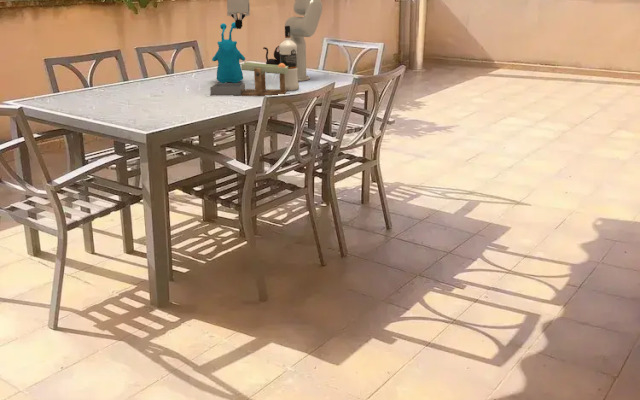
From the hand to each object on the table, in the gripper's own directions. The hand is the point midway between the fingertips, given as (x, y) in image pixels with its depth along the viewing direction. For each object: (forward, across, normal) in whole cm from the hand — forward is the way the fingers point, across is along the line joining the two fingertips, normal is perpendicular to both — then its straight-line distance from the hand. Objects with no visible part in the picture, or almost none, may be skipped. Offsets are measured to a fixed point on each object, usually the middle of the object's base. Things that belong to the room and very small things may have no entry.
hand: (239, 28), depth 326 cm
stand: (+29, -14, +11) cm, 34 cm away
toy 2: (+28, -8, -49) cm, 57 cm away
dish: (+29, +3, +12) cm, 31 cm away
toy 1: (+29, +11, -20) cm, 37 cm away
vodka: (+29, -24, 0) cm, 37 cm away
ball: (+16, -22, +11) cm, 30 cm away
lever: (+20, -14, +7) cm, 25 cm away
